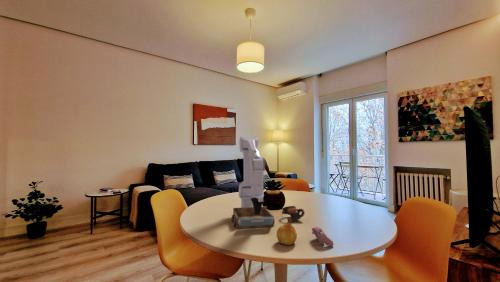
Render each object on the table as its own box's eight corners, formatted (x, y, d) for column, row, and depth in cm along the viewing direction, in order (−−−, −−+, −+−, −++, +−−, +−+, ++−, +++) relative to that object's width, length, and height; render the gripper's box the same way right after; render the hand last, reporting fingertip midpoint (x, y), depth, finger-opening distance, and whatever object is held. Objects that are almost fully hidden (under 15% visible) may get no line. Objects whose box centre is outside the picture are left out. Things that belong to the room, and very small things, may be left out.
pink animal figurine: (315, 241, 99) (308, 226, 98) (324, 236, 99) (317, 221, 99) (325, 251, 89) (317, 235, 89) (335, 245, 89) (327, 229, 89)
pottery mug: (282, 223, 119) (279, 207, 123) (285, 226, 126) (282, 211, 131) (305, 218, 116) (301, 202, 120) (307, 222, 124) (303, 206, 128)
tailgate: (271, 222, 112) (273, 216, 108) (272, 225, 110) (274, 219, 107) (239, 224, 109) (240, 218, 105) (239, 227, 107) (240, 221, 104)
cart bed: (267, 217, 126) (267, 206, 126) (275, 226, 112) (275, 213, 113) (231, 219, 123) (231, 208, 123) (234, 228, 109) (234, 215, 109)
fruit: (301, 242, 88) (296, 220, 92) (280, 244, 87) (276, 222, 91) (296, 245, 95) (292, 225, 99) (277, 248, 94) (274, 227, 98)
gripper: (246, 182, 114) (246, 210, 113) (251, 187, 99) (251, 219, 99) (260, 181, 115) (260, 209, 115) (267, 186, 101) (267, 218, 100)
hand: (257, 214), depth 107 cm, fingers closed
